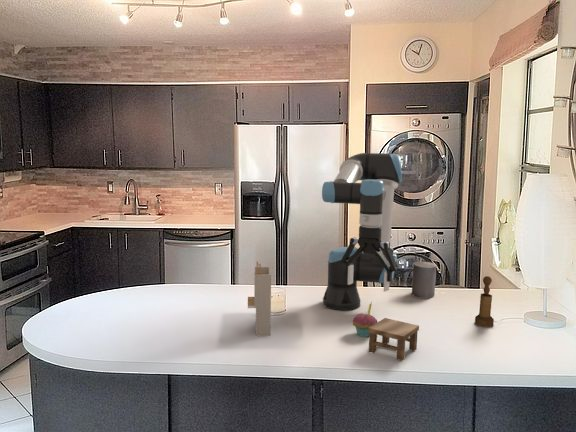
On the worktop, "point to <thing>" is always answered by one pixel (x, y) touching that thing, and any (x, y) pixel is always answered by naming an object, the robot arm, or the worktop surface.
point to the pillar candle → (424, 279)
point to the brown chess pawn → (485, 306)
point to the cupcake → (364, 323)
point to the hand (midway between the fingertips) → (367, 287)
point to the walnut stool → (393, 336)
